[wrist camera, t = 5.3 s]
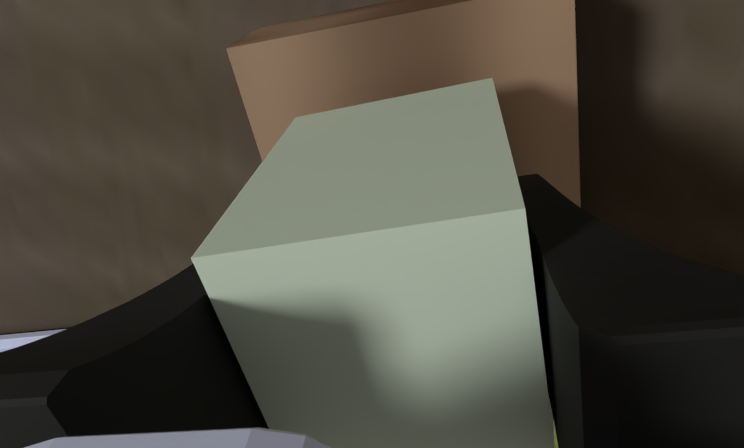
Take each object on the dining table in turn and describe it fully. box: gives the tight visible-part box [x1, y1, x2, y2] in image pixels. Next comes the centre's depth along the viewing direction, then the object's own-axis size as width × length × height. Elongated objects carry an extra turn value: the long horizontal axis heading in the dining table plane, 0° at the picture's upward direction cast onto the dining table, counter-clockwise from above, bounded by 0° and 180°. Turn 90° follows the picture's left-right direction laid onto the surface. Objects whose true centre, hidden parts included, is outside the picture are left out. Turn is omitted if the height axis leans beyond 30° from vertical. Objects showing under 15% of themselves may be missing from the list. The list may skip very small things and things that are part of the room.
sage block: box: [191, 78, 555, 448], centre depth 11 cm, size 4×4×6 cm
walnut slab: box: [226, 0, 581, 208], centre depth 16 cm, size 8×8×3 cm
